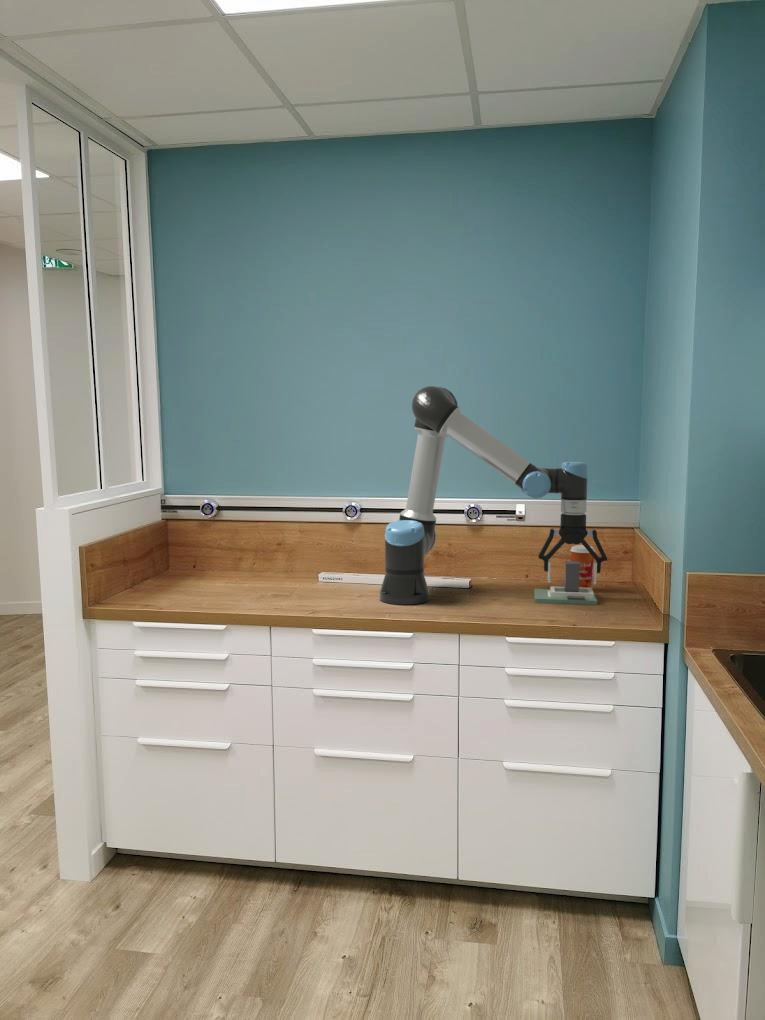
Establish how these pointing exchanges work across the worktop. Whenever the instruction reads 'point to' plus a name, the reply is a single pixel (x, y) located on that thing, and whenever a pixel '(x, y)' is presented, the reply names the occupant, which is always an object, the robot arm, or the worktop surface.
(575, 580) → the plug
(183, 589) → the worktop surface
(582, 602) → the board
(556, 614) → the worktop surface
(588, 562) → the paper cup
